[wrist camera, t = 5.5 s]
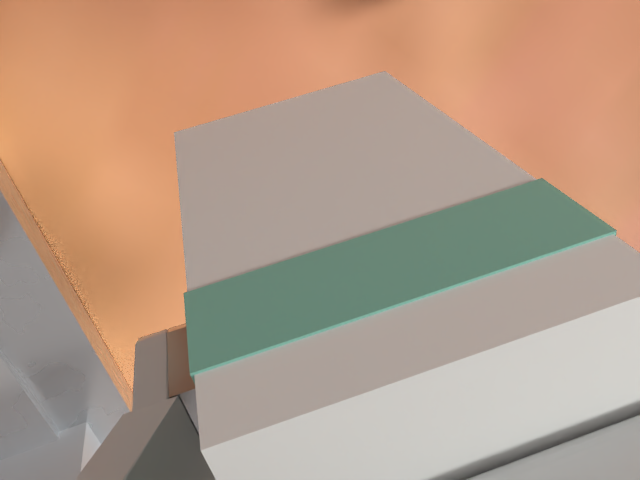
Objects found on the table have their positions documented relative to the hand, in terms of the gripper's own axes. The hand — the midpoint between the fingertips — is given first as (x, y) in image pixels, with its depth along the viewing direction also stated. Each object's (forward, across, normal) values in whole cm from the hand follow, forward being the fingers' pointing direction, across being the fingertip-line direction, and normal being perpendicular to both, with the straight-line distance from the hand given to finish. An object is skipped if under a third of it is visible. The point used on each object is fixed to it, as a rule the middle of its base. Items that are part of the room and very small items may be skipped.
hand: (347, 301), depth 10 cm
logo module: (+2, 0, 0) cm, 2 cm away
